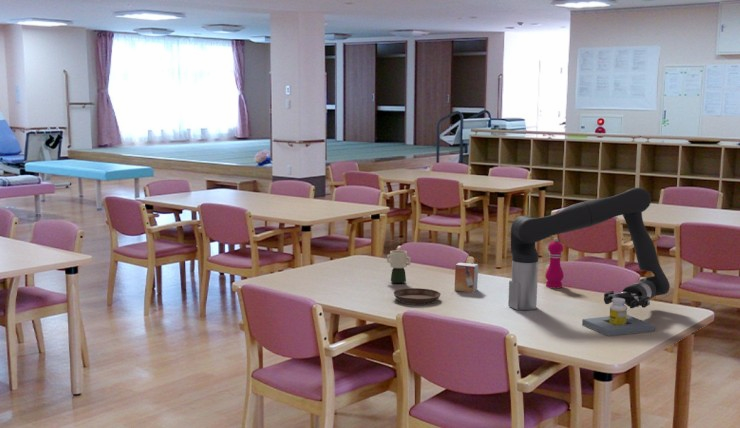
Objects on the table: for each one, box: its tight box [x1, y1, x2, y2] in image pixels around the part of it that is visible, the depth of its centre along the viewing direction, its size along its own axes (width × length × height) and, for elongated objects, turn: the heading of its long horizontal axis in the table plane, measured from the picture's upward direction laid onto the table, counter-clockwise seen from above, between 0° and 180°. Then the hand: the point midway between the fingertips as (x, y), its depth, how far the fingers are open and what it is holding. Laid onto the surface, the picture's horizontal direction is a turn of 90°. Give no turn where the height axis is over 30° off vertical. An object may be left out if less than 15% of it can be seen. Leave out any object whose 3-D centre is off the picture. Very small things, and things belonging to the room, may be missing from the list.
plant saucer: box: [393, 287, 442, 306], centre depth 307 cm, size 18×18×3 cm
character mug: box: [386, 249, 412, 284], centre depth 335 cm, size 11×7×13 cm, turn 59°
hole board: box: [581, 314, 655, 337], centre depth 272 cm, size 18×14×2 cm
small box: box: [454, 262, 479, 293], centre depth 323 cm, size 8×6×10 cm
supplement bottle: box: [609, 298, 628, 326], centre depth 271 cm, size 5×5×10 cm
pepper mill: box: [544, 237, 564, 289], centre depth 330 cm, size 7×7×20 cm
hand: (618, 303), depth 270 cm, fingers open, 8 cm apart
